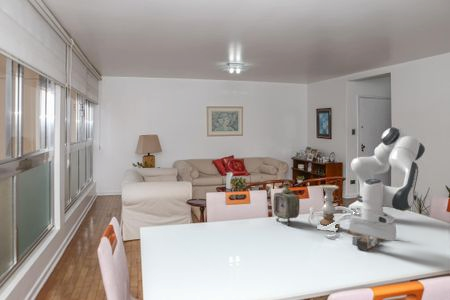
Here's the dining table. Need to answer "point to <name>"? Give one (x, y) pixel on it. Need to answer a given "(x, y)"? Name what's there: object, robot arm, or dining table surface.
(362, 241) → the hinged leg
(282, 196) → the tabletop clock
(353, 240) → the block
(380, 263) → the dining table surface
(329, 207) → the candle holder
